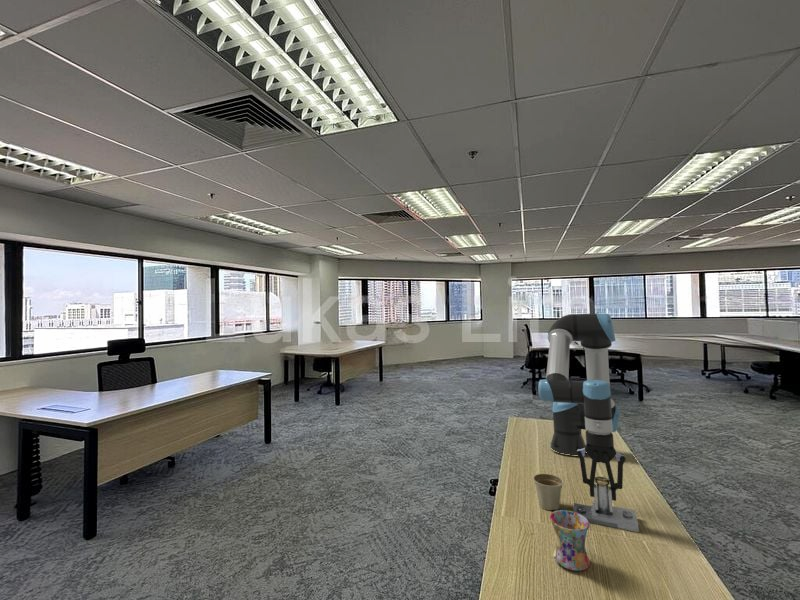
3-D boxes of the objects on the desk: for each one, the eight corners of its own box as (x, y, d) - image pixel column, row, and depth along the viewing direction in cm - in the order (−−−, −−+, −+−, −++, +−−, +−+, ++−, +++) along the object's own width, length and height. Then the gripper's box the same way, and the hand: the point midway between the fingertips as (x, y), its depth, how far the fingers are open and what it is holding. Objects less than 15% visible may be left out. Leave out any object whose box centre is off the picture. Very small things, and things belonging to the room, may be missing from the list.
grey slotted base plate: (574, 506, 119) (573, 497, 119) (635, 518, 111) (634, 508, 111) (573, 519, 112) (572, 509, 112) (638, 532, 104) (638, 521, 104)
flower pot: (563, 500, 123) (562, 474, 123) (566, 515, 114) (564, 487, 114) (533, 497, 126) (532, 472, 126) (534, 511, 117) (533, 484, 117)
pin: (597, 514, 114) (594, 475, 114) (611, 517, 112) (608, 477, 113) (597, 520, 110) (595, 480, 111) (611, 523, 109) (609, 483, 109)
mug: (596, 577, 87) (593, 532, 88) (555, 572, 89) (552, 528, 90) (584, 546, 99) (581, 506, 99) (547, 542, 101) (545, 503, 101)
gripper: (569, 431, 113) (574, 509, 112) (631, 438, 106) (636, 521, 104) (570, 425, 120) (574, 498, 118) (628, 430, 112) (633, 508, 111)
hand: (603, 508), depth 111 cm, fingers open, 3 cm apart
